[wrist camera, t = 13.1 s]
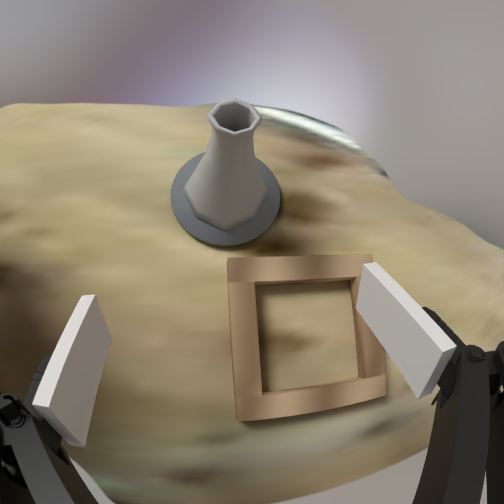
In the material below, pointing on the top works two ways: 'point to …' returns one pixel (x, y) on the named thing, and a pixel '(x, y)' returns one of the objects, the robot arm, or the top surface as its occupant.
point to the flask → (228, 169)
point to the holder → (247, 344)
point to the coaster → (212, 233)
